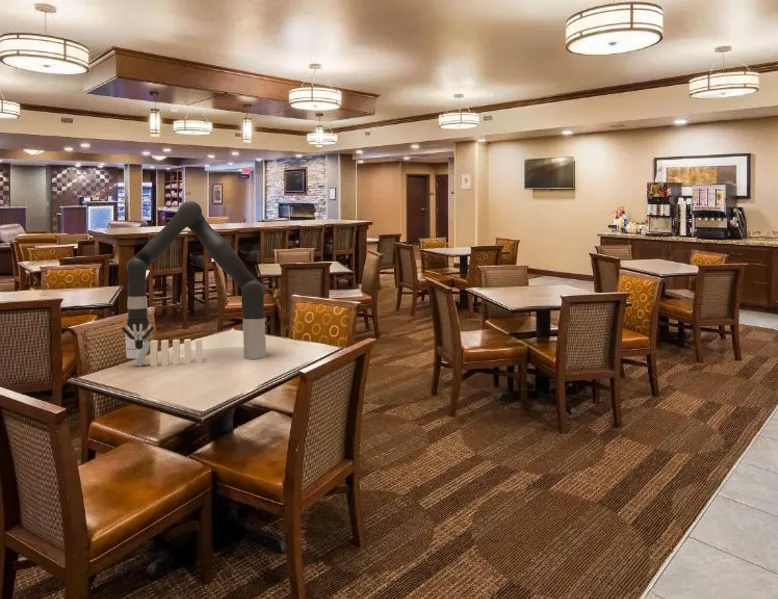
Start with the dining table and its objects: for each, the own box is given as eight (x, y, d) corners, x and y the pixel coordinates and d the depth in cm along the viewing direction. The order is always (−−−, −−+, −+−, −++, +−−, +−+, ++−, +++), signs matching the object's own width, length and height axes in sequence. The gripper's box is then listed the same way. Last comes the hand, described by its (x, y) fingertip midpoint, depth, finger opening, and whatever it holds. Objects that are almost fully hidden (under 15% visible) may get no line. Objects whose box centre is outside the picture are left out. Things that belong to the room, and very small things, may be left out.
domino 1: (134, 364, 242) (144, 342, 243) (136, 362, 247) (146, 340, 247) (140, 366, 243) (150, 344, 243) (142, 364, 248) (151, 342, 248)
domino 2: (157, 363, 249) (157, 340, 249) (156, 366, 244) (156, 341, 244) (151, 363, 249) (151, 340, 248) (150, 366, 244) (150, 341, 243)
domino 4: (180, 362, 252) (179, 339, 251) (179, 364, 247) (178, 341, 246) (174, 363, 251) (173, 339, 250) (173, 365, 246) (172, 341, 245)
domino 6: (202, 361, 254) (201, 338, 253) (202, 363, 249) (201, 340, 249) (196, 361, 253) (195, 338, 253) (196, 364, 249) (195, 340, 248)
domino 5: (191, 362, 253) (190, 338, 252) (190, 364, 248) (190, 340, 247) (185, 362, 252) (184, 339, 251) (184, 364, 247) (184, 340, 247)
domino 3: (169, 363, 250) (168, 339, 250) (168, 365, 246) (167, 341, 245) (162, 363, 250) (162, 340, 249) (161, 365, 245) (161, 341, 244)
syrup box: (138, 360, 257) (136, 327, 255) (125, 360, 258) (124, 327, 257) (146, 358, 262) (144, 326, 261) (134, 358, 263) (132, 325, 262)
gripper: (155, 306, 249) (157, 347, 250) (121, 307, 245) (123, 348, 246) (153, 307, 241) (155, 349, 243) (118, 308, 238) (120, 351, 239)
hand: (139, 349), depth 244 cm, fingers closed
